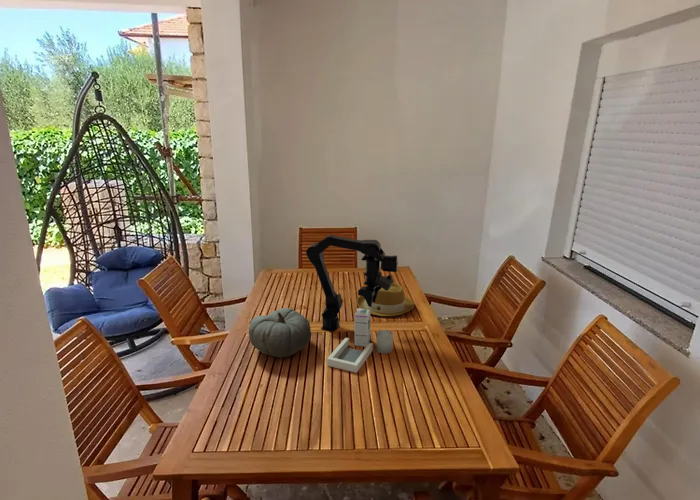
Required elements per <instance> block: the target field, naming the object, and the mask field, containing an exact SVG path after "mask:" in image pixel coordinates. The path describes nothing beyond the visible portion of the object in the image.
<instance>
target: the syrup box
mask: <svg viewBox="0 0 700 500" xmlns="http://www.w3.org/2000/svg"><path fill="white" fill-rule="evenodd" d="M353 323H354V325H353V326H354V328H353V329H354V346H355V347H365V348H366V347H367V345H368V344H369V343H371V342H370V341H371V314H370V309H363V308H360V307H359V308H356V310H355V313H354V321H353Z"/></svg>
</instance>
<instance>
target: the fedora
mask: <svg viewBox="0 0 700 500" xmlns="http://www.w3.org/2000/svg"><path fill="white" fill-rule="evenodd" d="M356 304H357V306H358V307H359V308H363V309H370V315H374V316H379V317H394V316H395V317H396V316H401V315H404V314H406V313H408V312H410V311H411V310H412V309H413V308H414V306H415V303H414V302H413V301H412V299H410V298H408V297H406V296H405V294H404V288H403V287H402V286H401V285H400V284H398V283H397V282H394V281H393V283H392V285H391V287H390V289H389V290H388V291H386V290H384V289H383V288H381V289H380V290H379V291H378V294H377V298H376V301H375V302H372V305H371V307H369V306H368V304H367V302H366V300H365V298H364V296H359V295H358V297H357V299H356Z"/></svg>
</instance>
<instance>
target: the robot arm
mask: <svg viewBox="0 0 700 500" xmlns="http://www.w3.org/2000/svg"><path fill="white" fill-rule="evenodd" d="M330 247H335V248H336V247H337V248H342V249H346V250H352V251H356V252H360V253H361V254H363V256H362V258H361V261H363V262H364V261H365V272H364V273H363V275H364V277H365V281H364V282H363V285H364V286H361V287H360V288H359V289H358V290H357V295H358V297H359V296H364V298H365V300H366V302H367V304H368V306H369V307H371V305H372V302H375V301H376V298H377V294H378V291H379V290H380V289H381V288H383V289H384V290H386V291H388V290H389V289H390V287H391V285H392V283H393V282H394V279H393V276H392V275H391V274H388V275H387V276H386V275H382V271H383V272H389V273H390V272H391V273H398V266H399V263H398V255H386V253H385V251H384V250H383V248H382V247H381V243H380V242H379V241H378V239H377V240H376V239H362V240H361V239H355V238H349V237H343V236H337V235H333V234H328V235H327V236H326V237H325V238H323V239H321V240H320V241H318V242H314V243H311V245H310V246H309V247H307V249H306V251H305V254H306V257H307V258H308V261H309V262H310V264H312V265H313V266H314V268H315V272H316V274H317V277H318V279H319V282H320V284H321V288H322V290H323V293H324V297H325V308H324V310H323V311H322V313H321V316H322V327H321V328H320V329H321V330H322V331H328V332H333V333H334V332H336V330H338V328H340V327H341V326H340V318H339V314H340V311H341V309H342V307H343V302H344V300H343V298H342V295H341V293H337V292H336V291H335V289H334V285H333V283H332V280H331V278H330V274H329V271H328V269H327V266H326V263H325V252H324V251H326V249H328V248H330ZM380 269H381V271H380Z"/></svg>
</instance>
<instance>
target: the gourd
mask: <svg viewBox="0 0 700 500" xmlns="http://www.w3.org/2000/svg"><path fill="white" fill-rule="evenodd" d="M311 335H312V334H311V324H310V321H309V320H308V319H307V318H306V317H305V316H304V315H302V313H300V312H298V311H296V310H294V309H292V308H289V307H282V308H279V309H278V310H273V311H272V312H270V313H269V314H268V315H265V314H264V315H257V316H254V318H252V319H251V321H250V324H249V326H248V336H249V341H250V343H251V345H252V346H253V347H254V348H255V349H256V350H257V351H259V352H260V353H262V354H264V355H267V356H272V357H276V358H279V359H281V358H285V357H291V356H292V355H294V354H296V353H297V352H301V351H302V350H303V349H305V347H307V345H308V344H309V342H310V339H311Z"/></svg>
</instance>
